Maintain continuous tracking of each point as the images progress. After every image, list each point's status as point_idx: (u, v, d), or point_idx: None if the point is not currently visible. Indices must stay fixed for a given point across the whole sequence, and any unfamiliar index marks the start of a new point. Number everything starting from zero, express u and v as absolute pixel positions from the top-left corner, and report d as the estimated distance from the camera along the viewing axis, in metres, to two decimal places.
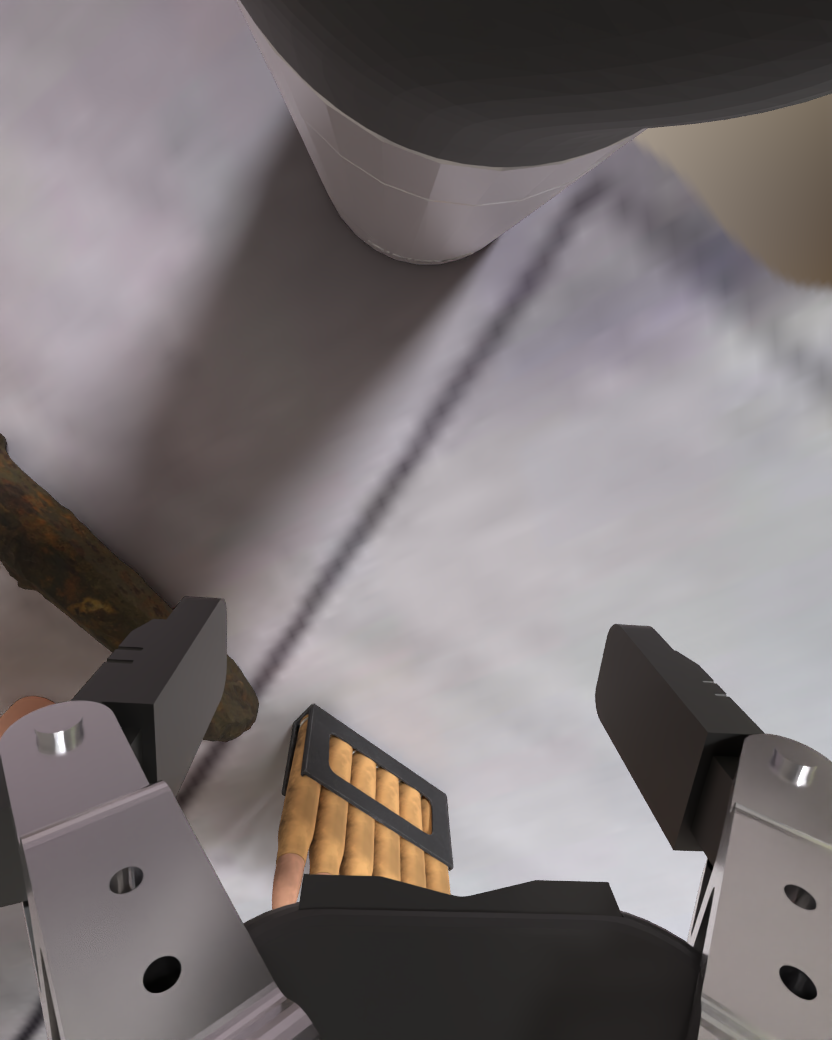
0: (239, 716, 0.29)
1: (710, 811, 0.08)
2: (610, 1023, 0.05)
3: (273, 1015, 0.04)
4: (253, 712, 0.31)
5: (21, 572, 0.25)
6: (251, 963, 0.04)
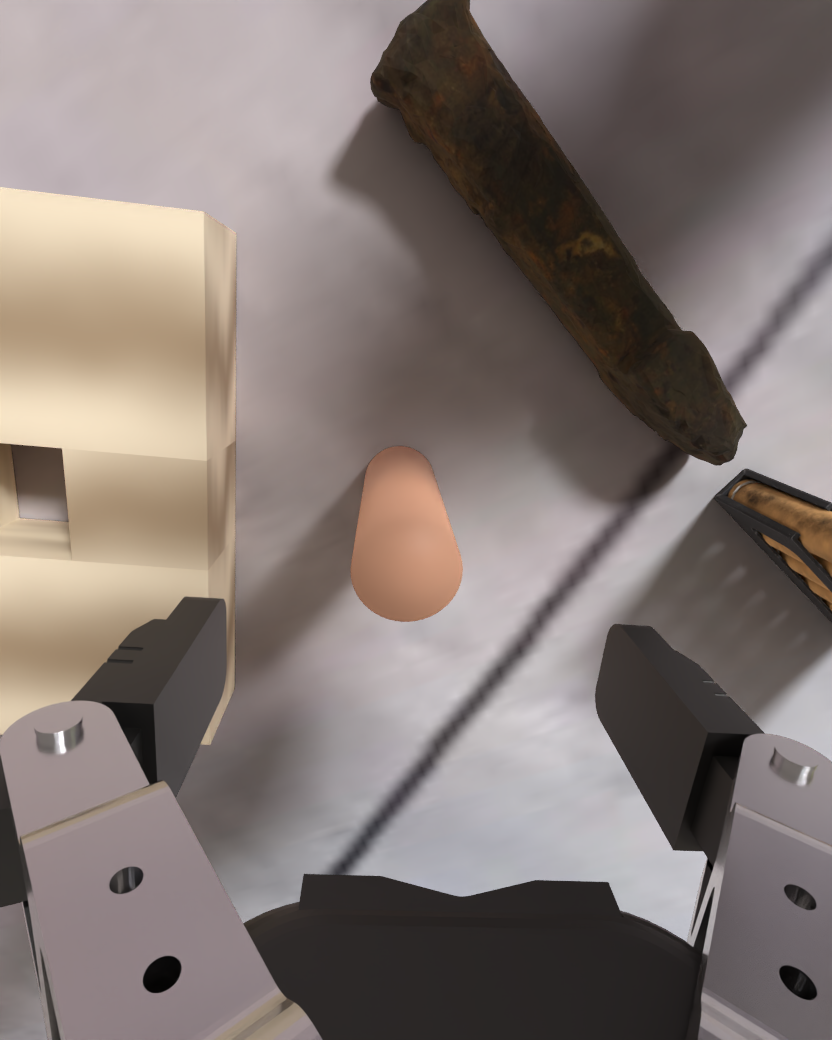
0: None
1: (710, 811, 0.08)
2: (610, 1023, 0.05)
3: (273, 1015, 0.04)
4: None
5: (510, 187, 0.18)
6: (251, 963, 0.04)
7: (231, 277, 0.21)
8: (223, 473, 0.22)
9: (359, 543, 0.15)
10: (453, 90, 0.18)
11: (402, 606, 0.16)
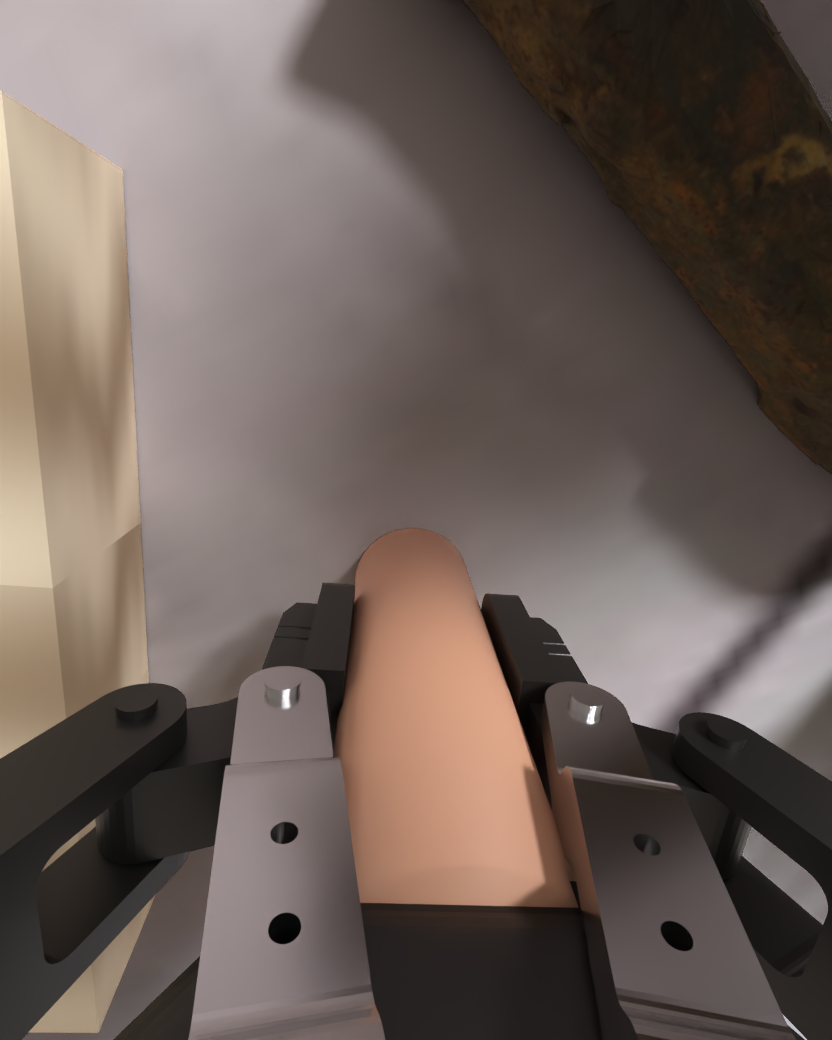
0: None
1: None
2: None
3: (357, 1016, 0.04)
4: None
5: (648, 47, 0.09)
6: (357, 956, 0.04)
7: (114, 248, 0.12)
8: (109, 588, 0.13)
9: None
10: None
11: None
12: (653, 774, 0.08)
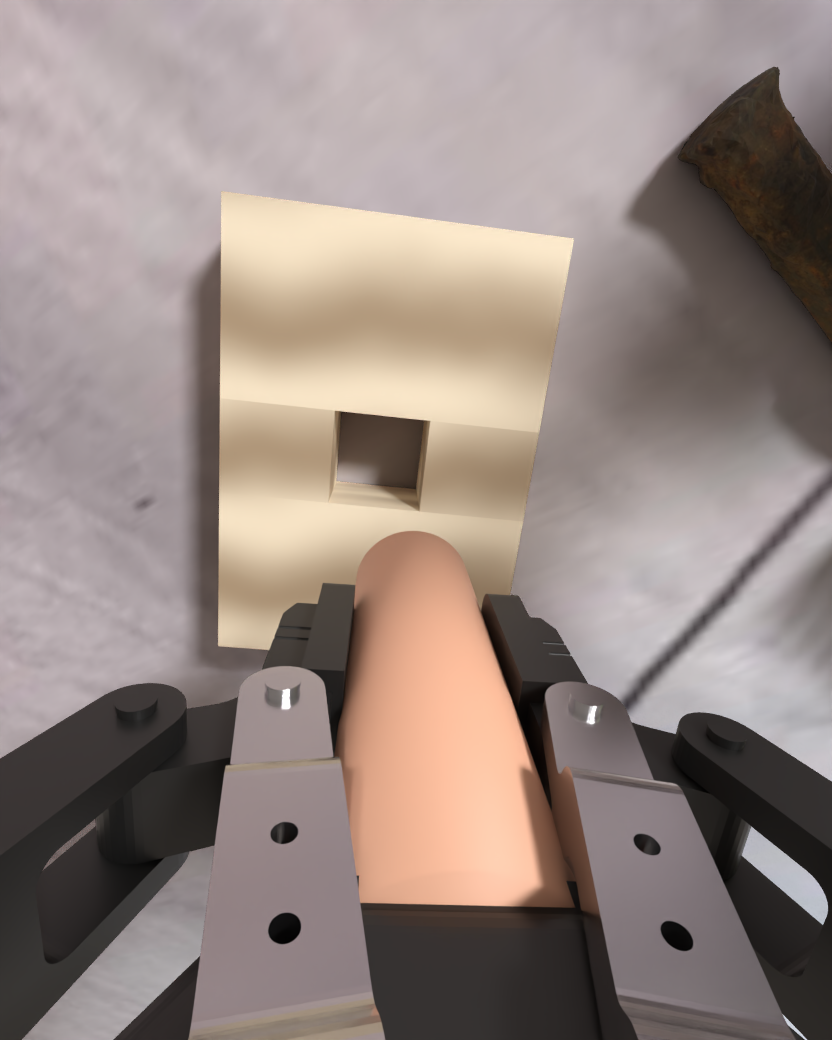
0: None
1: None
2: None
3: (357, 1016, 0.04)
4: None
5: (805, 220, 0.24)
6: (357, 956, 0.04)
7: None
8: None
9: None
10: (766, 151, 0.23)
11: None
12: (653, 774, 0.08)
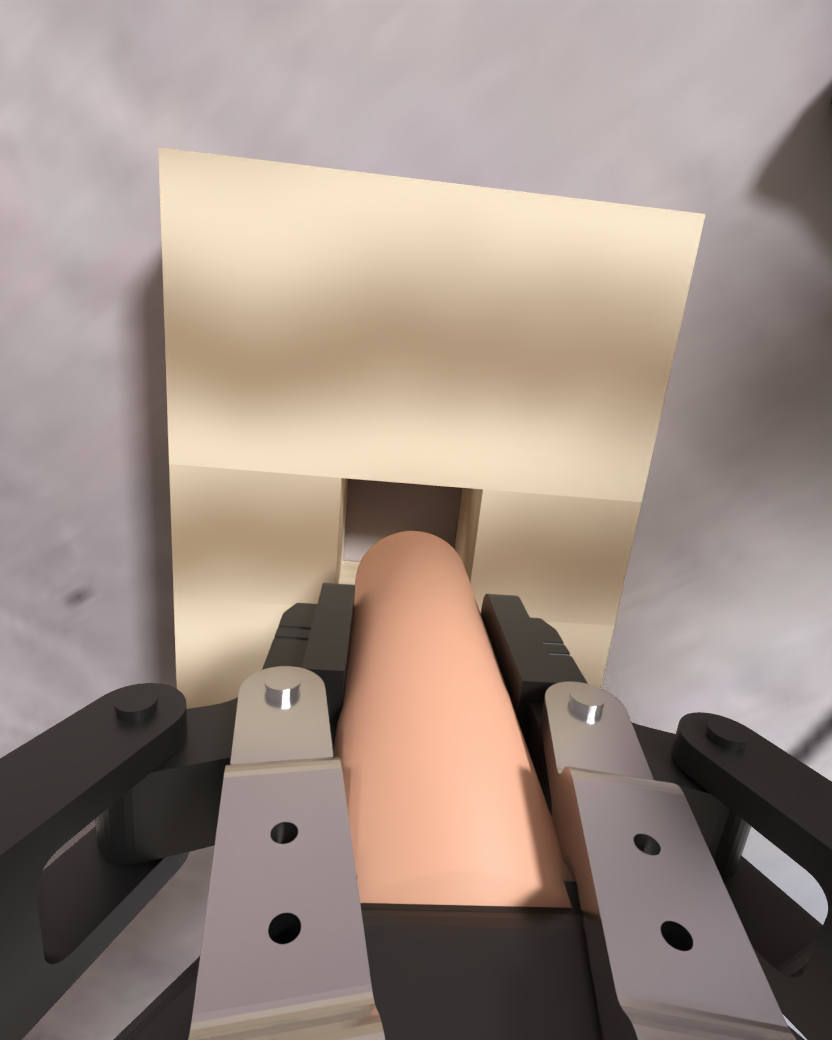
0: None
1: None
2: None
3: (358, 1015, 0.04)
4: None
5: None
6: (357, 956, 0.04)
7: None
8: None
9: None
10: None
11: None
12: (653, 774, 0.08)
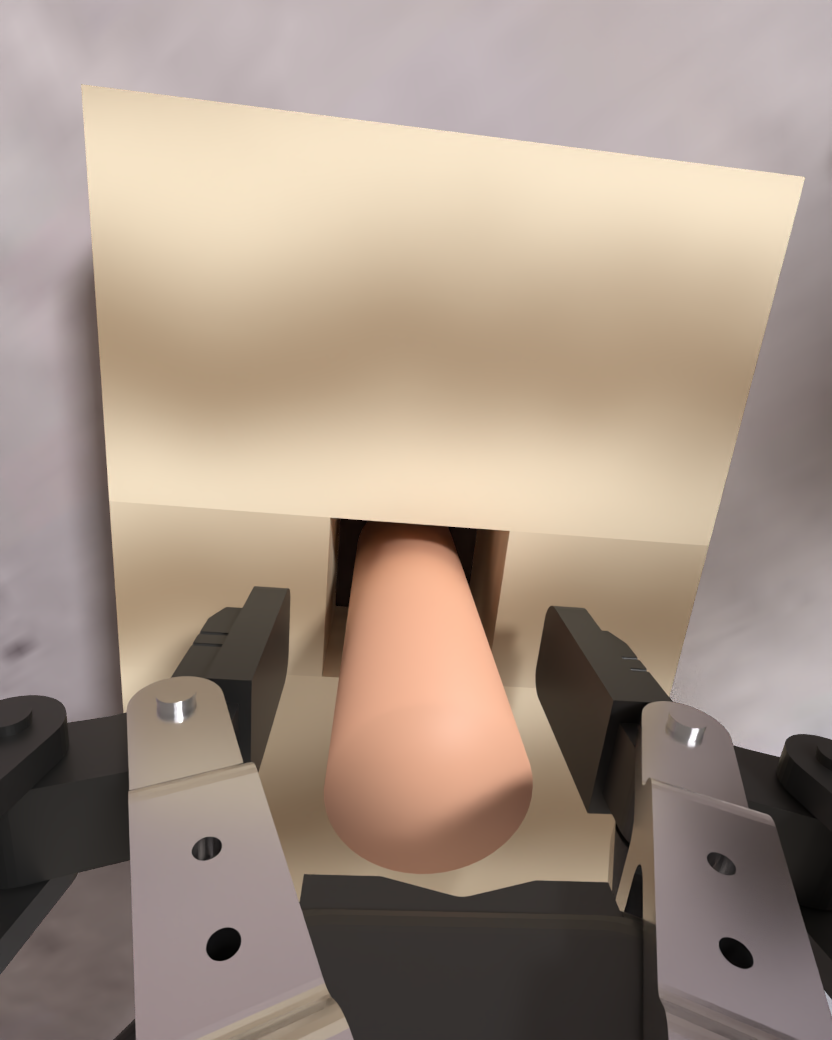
0: None
1: (617, 774, 0.09)
2: (610, 1023, 0.05)
3: (315, 1009, 0.04)
4: None
5: None
6: (304, 953, 0.04)
7: None
8: None
9: (339, 748, 0.08)
10: None
11: (422, 850, 0.08)
12: (763, 800, 0.08)
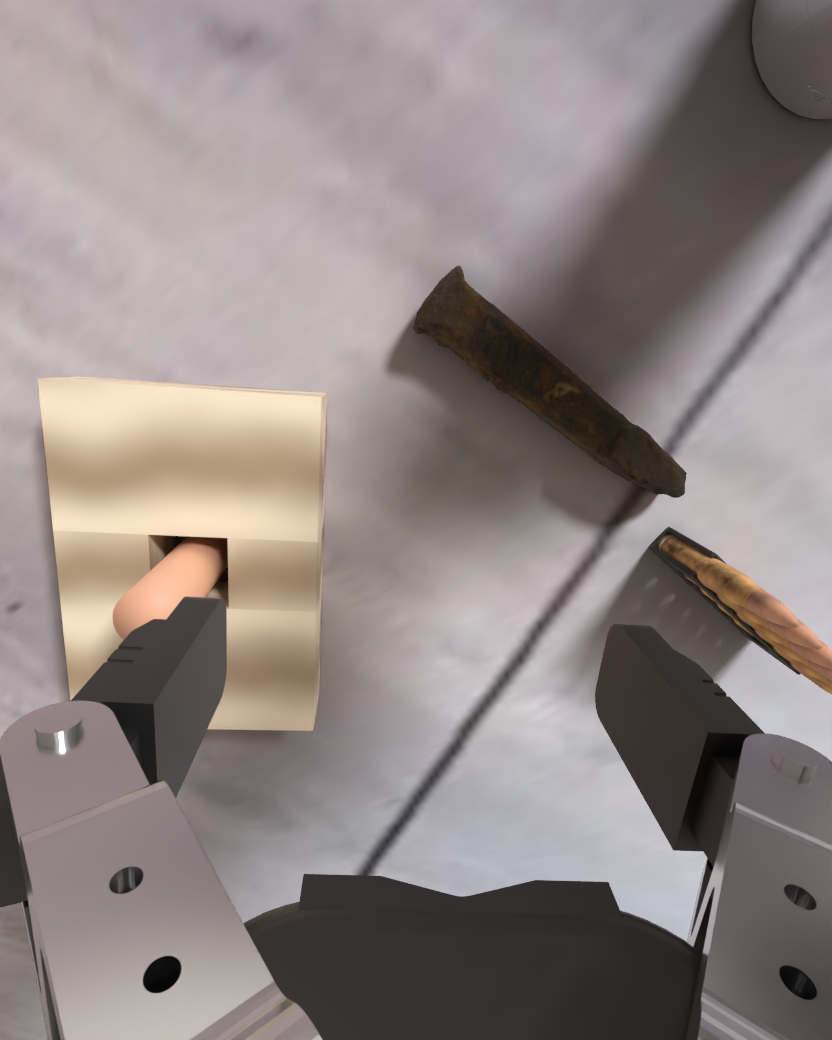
0: None
1: (710, 811, 0.08)
2: (609, 1023, 0.05)
3: (273, 1015, 0.04)
4: None
5: (508, 370, 0.31)
6: (251, 963, 0.04)
7: (325, 421, 0.33)
8: (320, 546, 0.34)
9: (115, 605, 0.26)
10: (464, 326, 0.30)
11: None
12: None
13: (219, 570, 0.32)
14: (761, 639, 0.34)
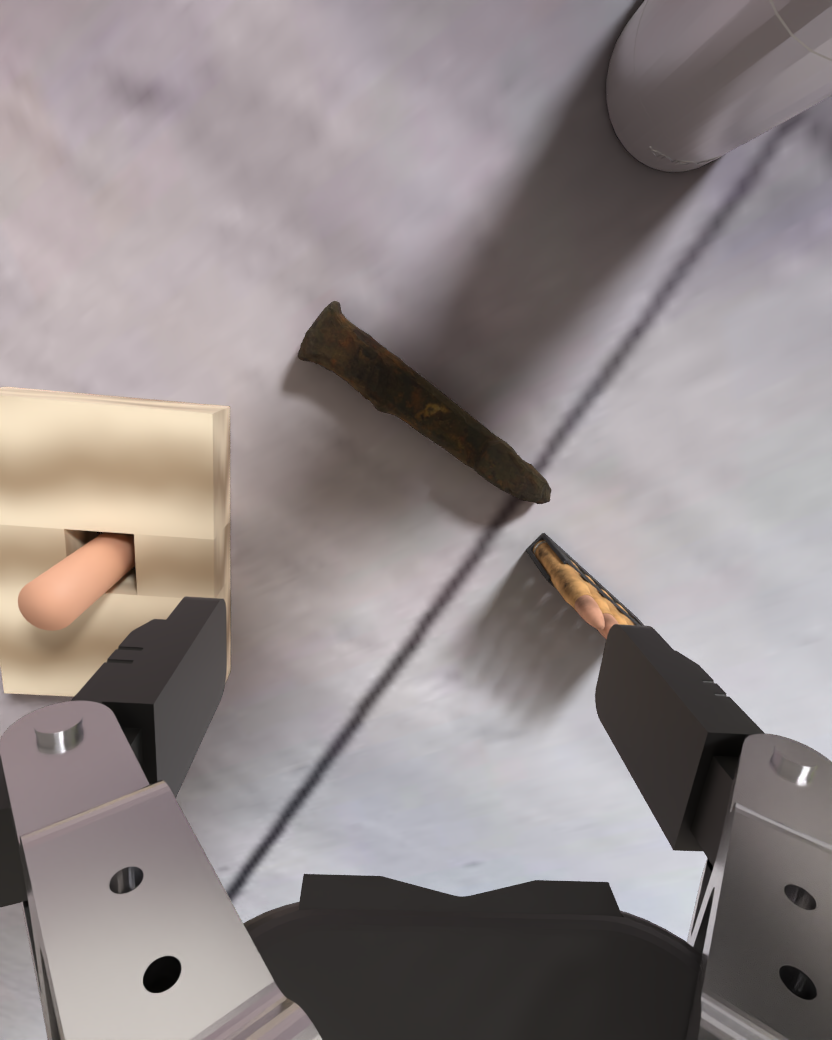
0: None
1: (710, 811, 0.08)
2: (610, 1023, 0.05)
3: (274, 1015, 0.04)
4: None
5: (382, 393, 0.34)
6: (251, 963, 0.04)
7: (227, 432, 0.37)
8: (223, 542, 0.38)
9: (20, 592, 0.30)
10: (340, 355, 0.34)
11: (49, 623, 0.31)
12: None
13: (129, 561, 0.37)
14: None
